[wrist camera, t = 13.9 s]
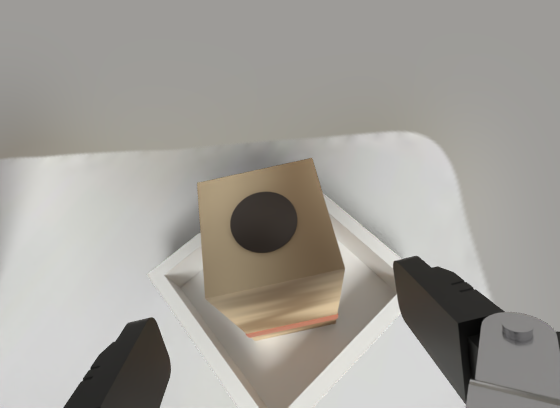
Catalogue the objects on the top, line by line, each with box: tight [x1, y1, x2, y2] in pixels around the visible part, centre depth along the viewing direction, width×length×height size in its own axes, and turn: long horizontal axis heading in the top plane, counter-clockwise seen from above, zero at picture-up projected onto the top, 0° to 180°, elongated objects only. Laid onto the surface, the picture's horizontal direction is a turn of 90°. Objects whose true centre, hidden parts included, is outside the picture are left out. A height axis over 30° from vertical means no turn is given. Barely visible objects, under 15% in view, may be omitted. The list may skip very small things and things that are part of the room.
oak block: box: [197, 158, 345, 341], centre depth 17 cm, size 5×5×10 cm
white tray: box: [146, 192, 402, 408], centre depth 21 cm, size 12×12×4 cm
